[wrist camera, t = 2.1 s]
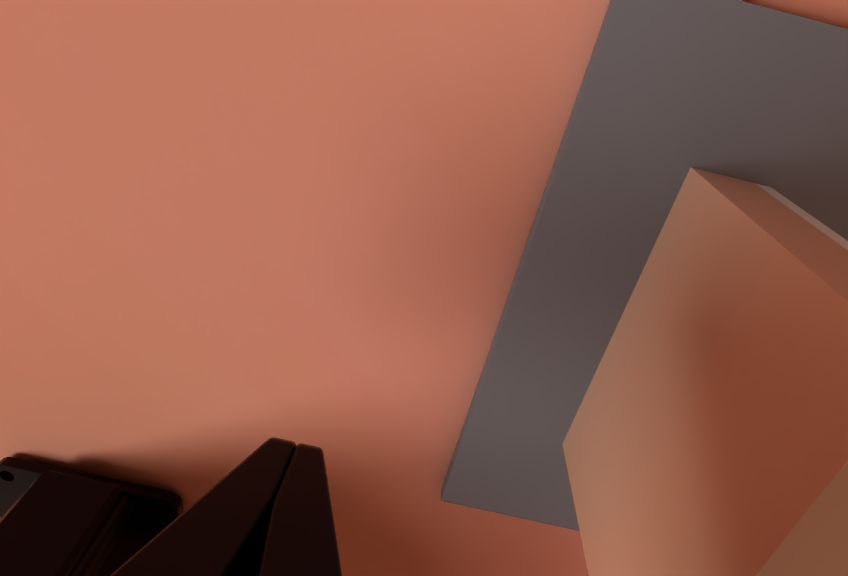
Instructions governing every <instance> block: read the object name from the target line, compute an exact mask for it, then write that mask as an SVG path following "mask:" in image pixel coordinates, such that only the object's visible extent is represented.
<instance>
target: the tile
mask: <svg viewBox="0 0 848 576" xmlns="http://www.w3.org/2000/svg"><path fill="white" fill-rule="evenodd" d="M562 445H563V450H564V455H565V460H566V465H567V470H568V475H569V480H570V485H571V490H572V495H573V500H574V505H575V510H576V515H577V520H578V525H579V530H580V535H581V540H582V545H583V550H584V556H585V561H586V566H587V571H588V576H848V241H847V240H846V239H844V238H843V237H841V236H840V235H839V234H837V233H836V232H834V231H833V230H831V229H830V228H828V227H827V226H826V225H824V224H823V223H821V222H820V221H818V220H817V219H816V218H814V217H813V216H811V215H810V214H808V213H807V212H806V211H804V210H803V209H801V208H800V207H798V206H797V205H796V204H794V203H793V202H791V201H790V200H788V199H787V198H785V197H784V196H783V195H781V194H780V193H778V192H777V191H775V190H774V189H773V188H771V187H768V186H764V185H760V184H756V183H752V182H748V181H744V180H740V179H736V178H732V177H728V176H724V175H720V174H716V173H712V172H709V171H705V170H701V169H697V168H693V167H690V169H689V172H688V174H687V176H686V178H685V180H684V182H683V184H682V187H681V189H680V191H679V193H678V195H677V197H676V200H675V202H674V204H673V206H672V208H671V210H670V213H669V215H668V217H667V219H666V221H665V223H664V226H663V228H662V230H661V232H660V234H659V236H658V238H657V241H656V243H655V245H654V247H653V249H652V251H651V254H650V256H649V258H648V260H647V262H646V264H645V267H644V269H643V271H642V273H641V275H640V277H639V280H638V282H637V284H636V286H635V288H634V290H633V292H632V295H631V297H630V299H629V301H628V303H627V305H626V308H625V310H624V312H623V314H622V316H621V318H620V321H619V323H618V325H617V327H616V329H615V331H614V334H613V336H612V338H611V340H610V342H609V344H608V346H607V349H606V351H605V353H604V355H603V357H602V359H601V362H600V364H599V366H598V368H597V370H596V372H595V375H594V377H593V379H592V381H591V383H590V385H589V388H588V390H587V392H586V394H585V396H584V398H583V400H582V403H581V405H580V407H579V409H578V411H577V413H576V416H575V418H574V420H573V422H572V424H571V426H570V429H569V431H568V433H567V435H566V437H565V439H564V442H563V444H562Z"/></svg>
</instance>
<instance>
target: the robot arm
mask: <svg viewBox="0 0 848 576" xmlns="http://www.w3.org/2000/svg"><path fill="white" fill-rule="evenodd" d="M0 576H342V573H341V566H340V559H339V553H338V546H337V540H336V533H335V526H334V520H333V513H332V507H331V500H330V494H329V487H328V480H327V474H326V467H325V461H324V454H323V451H322V449H321V448H319V447H315V446H311V445H306V444H301V443H300V444H298V445H297V446H296V444H295V443H294V442H292V441H288V440H284V439H279V438H270V439H268V440H267V441H266V442H265V443H264V444H262V445H261V446H260V447H259V448H258V449H257V450H255V451H254V452H253V453H252V454H251V455H250V456H248V457H247V458H246V459H245V460H244V461H243V462H242V463H240V464H239V465H238V466H237V467H236V468H235V469H233V470H232V471H231V472H230V473H229V474H228V475H226V476H225V477H224V478H223V479H222V480H221V481H219V482H218V483H217V484H216V485H215V486H214V487H213V488H211V489H210V490H209V491H208V492H207V493H206V494H204V495H203V496H202V497H201V498H200V499H199V500H197V501H196V502H195V503H194V504H193V505H192V506H190V507H189V508H188V509H187V510H186V511H185V512H184V513H183V502H182V499H181V498H180V497H179V496H178V495H177V494H175V493H173V492H171V491H167V490H162V489H157V488H153V487H148V486H144V485H139V484H134V483H130V482H125V481H120V480H116V479H111V478H106V477H102V476H97V475H92V474H88V473H83V472H78V471H74V470H69V469H65V468H60V467H55V466H51V465H46V464H41V463H37V462H32V461H27V460H23V459H18V458H13V457H6V458H3V459H2V460H1V461H0Z"/></svg>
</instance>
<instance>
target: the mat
mask: <svg viewBox="0 0 848 576" xmlns="http://www.w3.org/2000/svg"><path fill="white" fill-rule="evenodd" d="M690 167H693V168H697V169H701V170H705V171H709V172H712V173H716V174H720V175H724V176H728V177H732V178H736V179H740V180H744V181H748V182H752V183H756V184H760V185H764V186H768V187H771V188H773V189H774V190H775V191H777V192H778V193H780V194H781V195H783V196H784V197H785V198H787V199H788V200H790V201H791V202H793V203H794V204H796V205H797V206H798V207H800V208H801V209H803V210H804V211H806V212H807V213H808V214H810V215H811V216H813V217H814V218H816V219H817V220H818V221H820V222H821V223H823V224H824V225H826V226H827V227H828V228H830V229H831V230H833V231H834V232H836V233H837V234H839V235H840V236H841V237H843V238H844V239H846V240H847V241H848V29H846V28H842V27H839V26H835V25H831V24H827V23H824V22H820V21H816V20H812V19H809V18H805V17H801V16H797V15H794V14H790V13H786V12H782V11H779V10H775V9H771V8H768V7H764V6H760V5H756V4H753V3H749V2H745V1H741V0H611V1H610V4H609V7H608V9H607V12H606V15H605V18H604V21H603V24H602V27H601V30H600V33H599V36H598V38H597V41H596V44H595V47H594V50H593V53H592V56H591V59H590V62H589V64H588V67H587V70H586V73H585V76H584V79H583V82H582V85H581V88H580V90H579V93H578V96H577V99H576V102H575V105H574V108H573V111H572V114H571V116H570V119H569V122H568V125H567V128H566V131H565V134H564V137H563V140H562V142H561V145H560V148H559V151H558V154H557V157H556V160H555V163H554V166H553V169H552V171H551V174H550V177H549V180H548V183H547V186H546V189H545V192H544V195H543V197H542V200H541V203H540V206H539V209H538V212H537V215H536V218H535V221H534V223H533V226H532V229H531V232H530V235H529V238H528V241H527V244H526V247H525V249H524V252H523V255H522V258H521V261H520V264H519V267H518V270H517V273H516V275H515V278H514V281H513V284H512V287H511V290H510V293H509V296H508V299H507V302H506V304H505V307H504V310H503V313H502V316H501V319H500V322H499V325H498V328H497V330H496V333H495V336H494V339H493V342H492V345H491V348H490V351H489V354H488V356H487V359H486V362H485V365H484V368H483V371H482V374H481V377H480V380H479V382H478V385H477V388H476V391H475V394H474V397H473V400H472V403H471V406H470V408H469V411H468V414H467V417H466V420H465V423H464V426H463V429H462V432H461V435H460V437H459V440H458V443H457V446H456V449H455V452H454V455H453V458H452V461H451V463H450V466H449V469H448V472H447V475H446V478H445V481H444V484H443V487H442V492H441V501H446V502H450V503H455V504H459V505H464V506H468V507H473V508H477V509H482V510H487V511H491V512H496V513H500V514H505V515H509V516H514V517H519V518H523V519H528V520H532V521H537V522H541V523H546V524H550V525H555V526H560V527H564V528H569V529H573V530H578V531H580V530H579V525H578V520H577V515H576V510H575V505H574V500H573V495H572V490H571V485H570V480H569V475H568V470H567V465H566V460H565V455H564V450H563V445H562V444H563V442H564V439H565V437H566V435H567V433H568V431H569V429H570V426H571V424H572V422H573V420H574V418H575V416H576V413H577V411H578V409H579V407H580V405H581V403H582V400H583V398H584V396H585V394H586V392H587V390H588V388H589V385H590V383H591V381H592V379H593V377H594V375H595V372H596V370H597V368H598V366H599V364H600V362H601V359H602V357H603V355H604V353H605V351H606V349H607V346H608V344H609V342H610V340H611V338H612V336H613V334H614V331H615V329H616V327H617V325H618V323H619V321H620V318H621V316H622V314H623V312H624V310H625V308H626V305H627V303H628V301H629V299H630V297H631V295H632V292H633V290H634V288H635V286H636V284H637V282H638V280H639V277H640V275H641V273H642V271H643V269H644V267H645V264H646V262H647V260H648V258H649V256H650V254H651V251H652V249H653V247H654V245H655V243H656V241H657V238H658V236H659V234H660V232H661V230H662V228H663V226H664V223H665V221H666V219H667V217H668V215H669V213H670V210H671V208H672V206H673V204H674V202H675V200H676V197H677V195H678V193H679V191H680V189H681V187H682V184H683V182H684V180H685V178H686V176H687V174H688V172H689V169H690Z"/></svg>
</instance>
